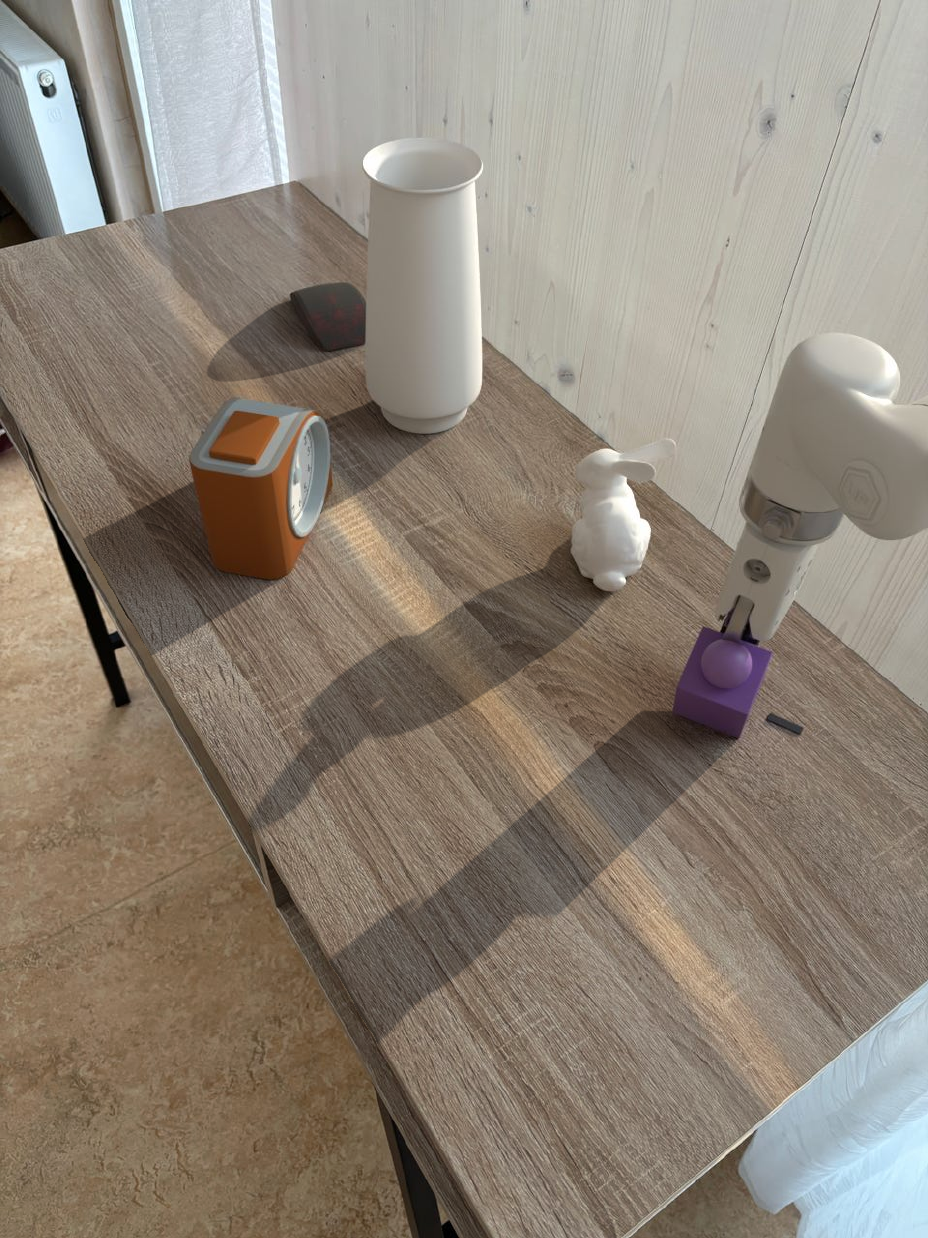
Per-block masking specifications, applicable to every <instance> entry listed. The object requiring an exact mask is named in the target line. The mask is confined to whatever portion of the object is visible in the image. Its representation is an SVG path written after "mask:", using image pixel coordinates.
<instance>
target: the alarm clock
mask: <svg viewBox="0 0 928 1238" xmlns="http://www.w3.org/2000/svg"><path fill="white" fill-rule="evenodd" d="M188 463H189V465H190V466H189V467H190V471H191V475H192V480H193V484H194V489H195V492H196V497H197V502H198V506H199V510H200V516H201V519H202V525H203V528H204V532H205V536H206V537H205V538H206V541H207V546H208V549H209V550H208V551H209V554H210V558H211V559H210V560H211V562H212V565H213V566H214V567H215V568H216V569H217V570H219V571H222V572H225V573H230V574H235V575H239V576H240V575H241V576H246V577H251V578H257V579H263V580H271V581H272V580H279V579H281V578H284V577H286V576H288V575H289V574H290V573H291V572H292V570H293V569H294V567H295V566H296V563H297V561H298V559H299V557H300V555H301V552H302V551H303V548H304V546H305V545H306V542H307V541H308V538H309V536H310V534H311V532H312V531H313V529H314V527H315V525H316V523H317V522H318V519H319V517H320V514H321V511H322V509H323V507H324V505H325V503H326V501H327V500H328V499H327V498H328V496H329V495H330V492H331V491H332V488H333V487H334V484H333V483H334V482H333V474H332V472H333V471H332V464H331V442H330V434H329V429H328V426H327V424H326V420H325V418H324V416H323V414H321V412H319V410H316V409H311V408H305V407H298V406H291V405H286V404H285V405H284V404H278V403H272V402H266V401H260V400H253V399H246V398H240V397H231V398H229V399H228V400H226V401H224V402H223V404H222V405H221V406H220V407H219V409H217V411H216V413H215V414H214V416H213V417H212V419H211V421H210V422H209V423H208V425H207V427H206V428H205V430H204V431H203V433H202V434H201V436H200V437H199V439H198V440H197V442H196V443H195V445H194V446H193V448H192V450H191V451H190V453H189V456H188Z"/></svg>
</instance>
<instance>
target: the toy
mask: <svg viewBox="0 0 928 1238" xmlns="http://www.w3.org/2000/svg"><path fill="white" fill-rule="evenodd" d="M723 636H724V634H723V633H721V632H720V631H718V630H715V629H712V628H710V627H707V626H704V625H703V626H702V627H701V628H700V631H699V633H698V636H697V638H696V640H695V642H694V645H693V648H692V650H691V652H690V654H689V657H688V659H687V661H686V663H685V667H684V669H683V671H682V673H681V676H680V678H679V680H678V683H677V685H676V688H675V693H674V699H673V706H672V713H673V714H676V715H677V716H681V717H683V718H686V719H689V720H691V721H693V722H696V723H698V724H700V725H703V726H706V727H709V728H711V729H713V730H716V731H718V732H720V733H724V734H726V735H728V736H731V737H734V738H736V739H741V736H742V733H743V730H744V728H745V726H746V723H747V721H748V718H749V716H750V713H751V711H752V708H753V705H754V703H755V701H756V698H757V695H758V694H759V690H760V688H761V685H762V683H763V681H764V678H765V675H766V673H767V670H768V667H769V664H770V662H771V658H772V655H773V654H774V653H773V650H769V649H766V648H764V647H761V646H759V645H758V646H756V645H753V644H750V643H748V642H745V641H742V640H740V642H738V643H735V642H732V641H729V640H722V638H723Z"/></svg>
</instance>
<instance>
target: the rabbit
mask: <svg viewBox="0 0 928 1238" xmlns="http://www.w3.org/2000/svg"><path fill="white" fill-rule="evenodd" d="M677 450H678V449H677V444H676V442H675V441H674V440H673V439H671V438H667V437H665V438H662V439H659V440H657V441H654V442H652V443H648V444H646V445H642V446H640V447H637V448H634V449H632V450H629V451H626V452H624V453H623V452H622V453H620V452H619V451H616V450H613V449H611V448H600V449H598V450H595V451H593V452H591V453H589V454H587V455H586V456H585V457H583V458H582V459H581V460H580V461H579V462H578V463H577V464H576V466H575V480H576V482H577V483H579V484H581V485H583V486H586V487H585V489H584V490H583V491H582V494H581V497H580V499H579V505H580V506H579V511H580V516H581V518H579V519H578V520H576V521H575V522H574V523H573V525H572V527H571V531H572V532H571V548H570V554H571V555H572V557H573V560H574V561H575V563H576V565H577V567H578V570H579V572H580V575H582V577H584V578H588V579H592V580H593V581H592V583H593V585H595V586H596V587H597V588H598V589H600V590H602V591H605V592H617V591H620V590H621V589H622V588H624V586H625V585H626V584H627V580H626V578H629V577H632V576H634V575H635V574H636V573H637V572H638V571H639V570H640V569H641V568H642V565H643V562H644V559H645V557H646V554H647V551H648V548H649V544H650V543H649V542H650V540H651V533H652V530H651V526H650V523H649V522H648V521H647V520H646V519H643V518H642V517H641V515H640V511H639V509H638V507H637V502H636V499H635V495H634V492H633V490H632V488H631V487H630V485H629V484H627V481H628V480H630V481H632V482H634V483H647V482H649V481H651V480H653V479H654V478H655V477H656V474H657V471H656V468H655V467H654V465H653V464H651V463H653V462H659V461H663V460H667V459H670V458H672V457H673V456H674V455H676V453H677ZM627 479H628V480H627Z"/></svg>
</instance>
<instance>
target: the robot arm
mask: <svg viewBox="0 0 928 1238" xmlns="http://www.w3.org/2000/svg"><path fill="white" fill-rule="evenodd" d="M900 389H901V372H900V369H899V366H898V364H897V362H896V360H895V359H894V357H892V355H891V354H890V353H889V352H888V351H886V350H885V348H883V347H882V346H880V345H879V344H877V343H876V342H874V341H872V340H870V339H867V338H865V337H862V336H860V335H859V336H858V335H855V334H851V333H845V332H824V333H818V334H814V335H812V336H808V337H807V338H805V339H804V340H802V341H800V342H799V343H798V344H797V345H796V346H795V347H794V348H793V349H792V350H791V351H790V352H789V353H788V356H787V357H786V360H785V362H784V364H783V367H782V369H781V372H780V375H779V378H778V381H777V384H776V388H775V389H774V390H775V391H774V393H773V397H772V399H771V402H770V406H769V408H768V411H767V414H766V417H765V421H764V423H763V426H762V429H761V432H760V435H759V438H758V441H757V444H756V447H755V450H754V453H753V455H752V459H751V462H750V465H749V468H748V470H747V474H746V477H745V480H744V483H743V486H742V489H741V492H740V495H739V498H738V507H739V511H740V513H741V516H742V518H743V519H744V521H745V524H744V526H743V529H742V531H741V534H740V537H739V539H738V542H737V544H736V547H735V549H734V552H733V555H732V558H731V561H730V563H729V566H728V569H727V571H726V575H725V577H724V581H723V583H722V585H721V589H720V592H719V595H718V598H717V601H716V605H715V609H714V613H713V614H714V618H715V619H716V622H720V621H722V625H721V628H720V631H719V632H721V633H723V634H724V636H723V638H722V640H729V641H732V642H735V643H738V642H740V640H742V641H745V642H748V643H750V644H753V645H756V646H759V644H760V642H761V643H765V642H768V641H770V640H771V639H772V638H773V637H774V635H775V634H776V632H777V630H778V629H779V627H780V625H781V624H782V621H783V620H784V618H785V616H786V615H787V613H788V611H789V609H790V608H791V606H792V604H793V602H794V601H795V598H796V597H797V595H798V593H799V592H800V590H801V587H802V586H803V584H804V581H805V580H806V578H807V575H808V573H809V569H810V567H811V565H812V563H813V559H814V557H815V554H816V552H817V549H818V547H819V544H822V543H825V542H826V541H828V540H830V539H831V538H832V537H833V536H834V535H836V534H837V532H838V530H839V528H840V526H841V523H842V521H843V518H844V516H846V518H847V519H848V520H849V521H850V522H851V523H852V524H853V525H854V526H855V527H856V528H858V530H860V531H861V532H863V533H865V534H866V535H868V536H870V537H871V538H874V539H877V540H882V541H899V540H904V539H907V538H910V537H912V536H915V535H917V534H919V533H920V532H921V533H922V532H923V531H925V530H927V529H928V395H925V396H923V397H921V398H919V399H917V400H914V401H912V402H910V403H907V404H895V403H896V400H897V398H898V395H899V392H900Z"/></svg>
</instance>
